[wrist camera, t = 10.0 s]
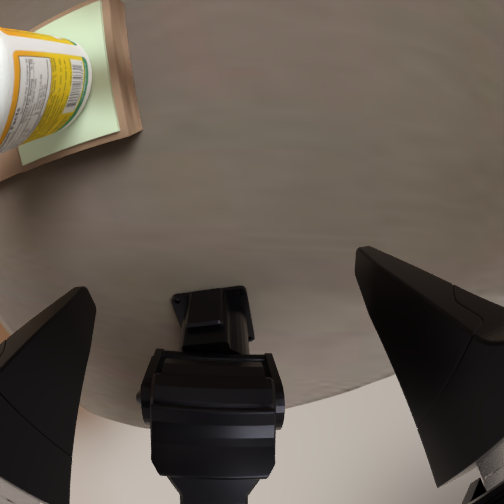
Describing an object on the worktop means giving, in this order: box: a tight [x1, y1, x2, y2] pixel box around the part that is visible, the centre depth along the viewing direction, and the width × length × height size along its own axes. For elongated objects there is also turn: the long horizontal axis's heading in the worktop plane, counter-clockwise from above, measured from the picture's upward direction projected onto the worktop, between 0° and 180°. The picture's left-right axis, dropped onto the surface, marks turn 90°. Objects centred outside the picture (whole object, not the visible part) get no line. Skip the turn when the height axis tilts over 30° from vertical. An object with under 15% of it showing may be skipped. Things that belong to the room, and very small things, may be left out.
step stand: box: [0, 0, 143, 182], centre depth 14 cm, size 10×16×3 cm, turn 97°
